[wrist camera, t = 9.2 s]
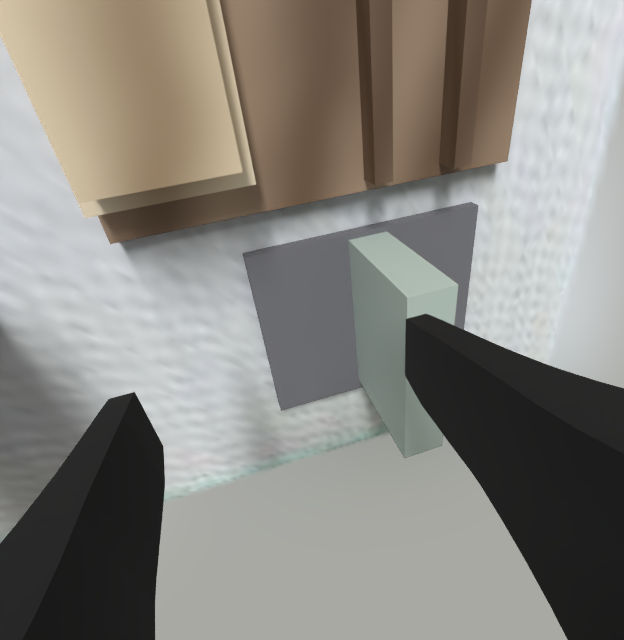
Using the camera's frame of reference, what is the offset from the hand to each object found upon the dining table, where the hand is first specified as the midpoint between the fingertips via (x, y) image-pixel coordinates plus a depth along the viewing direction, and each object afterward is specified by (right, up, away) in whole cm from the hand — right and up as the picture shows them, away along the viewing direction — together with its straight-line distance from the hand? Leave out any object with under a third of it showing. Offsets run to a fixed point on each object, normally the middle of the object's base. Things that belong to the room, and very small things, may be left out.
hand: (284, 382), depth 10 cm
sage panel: (+4, +2, +11) cm, 12 cm away
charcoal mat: (+4, +2, +11) cm, 12 cm away
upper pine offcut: (-5, +10, +1) cm, 11 cm away
